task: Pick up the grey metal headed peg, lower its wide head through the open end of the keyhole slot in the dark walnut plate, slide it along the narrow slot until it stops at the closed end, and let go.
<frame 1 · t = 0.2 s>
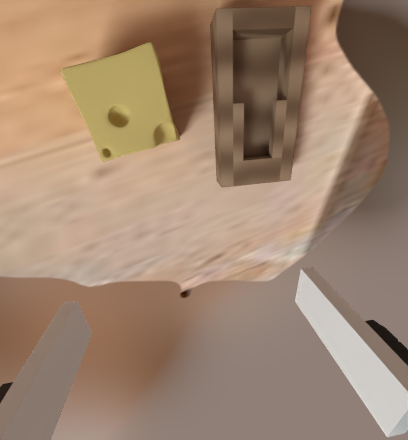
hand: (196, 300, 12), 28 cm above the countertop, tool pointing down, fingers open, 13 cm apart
keyhole plate: (249, 111, 34), on the countertop
cheese: (137, 112, 32), on the countertop
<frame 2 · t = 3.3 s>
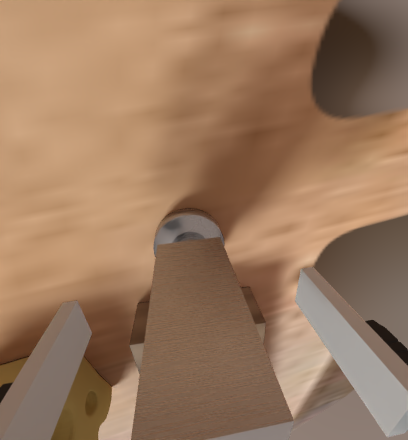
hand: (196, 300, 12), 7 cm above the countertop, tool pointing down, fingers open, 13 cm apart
keyhole plate: (201, 357, 27), on the countertop
peg: (188, 238, 19), on the countertop
cheese: (54, 375, 25), on the countertop
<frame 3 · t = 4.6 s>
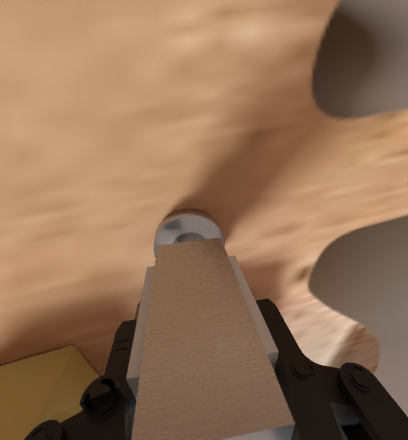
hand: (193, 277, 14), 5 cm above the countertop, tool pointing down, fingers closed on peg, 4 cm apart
peg: (188, 239, 19), on the countertop, touching gripper
cheese: (54, 375, 25), on the countertop
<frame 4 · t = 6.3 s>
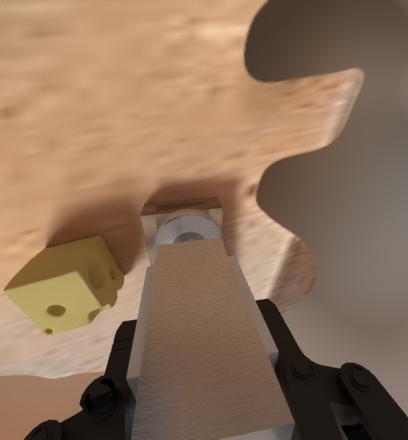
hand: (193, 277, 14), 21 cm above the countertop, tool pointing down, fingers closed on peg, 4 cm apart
keyhole plate: (186, 255, 39), on the countertop
peg: (188, 239, 19), point 16 cm above the countertop, touching gripper
cheese: (86, 261, 37), on the countertop
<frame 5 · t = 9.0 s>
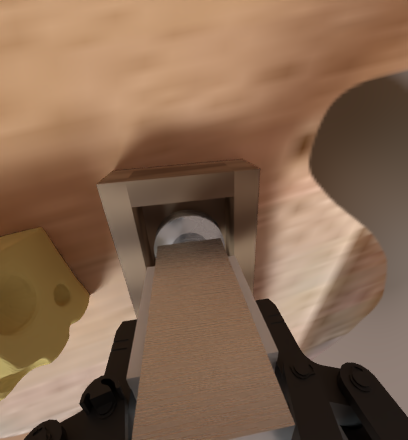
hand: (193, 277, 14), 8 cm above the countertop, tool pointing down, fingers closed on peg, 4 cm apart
keyhole plate: (190, 260, 24), on the countertop
peg: (188, 239, 19), point 3 cm above the countertop, touching gripper
cheese: (23, 273, 22), on the countertop
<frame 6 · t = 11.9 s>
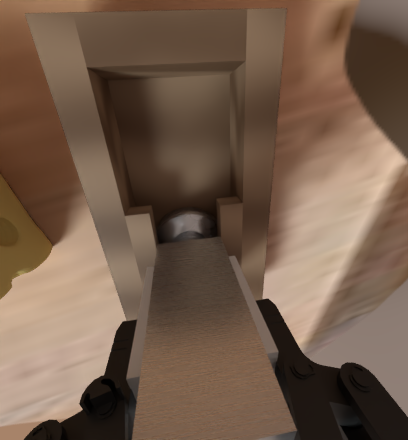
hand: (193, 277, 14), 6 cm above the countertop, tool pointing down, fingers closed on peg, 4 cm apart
keyhole plate: (184, 200, 18), on the countertop
peg: (188, 237, 19), point 1 cm above the countertop, touching gripper
when the fingers open (6 cm above the countertop, at t = 13.1 s): peg stays where it is, resting on keyhole plate.
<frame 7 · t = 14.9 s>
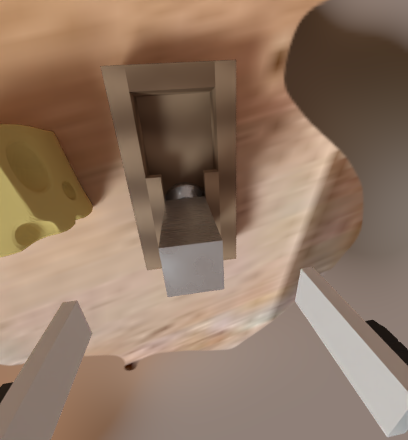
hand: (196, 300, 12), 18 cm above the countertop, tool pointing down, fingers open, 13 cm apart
keyhole plate: (182, 175, 27), on the countertop
peg: (185, 204, 28), point 1 cm above the countertop, touching keyhole plate
cheese: (35, 180, 25), on the countertop
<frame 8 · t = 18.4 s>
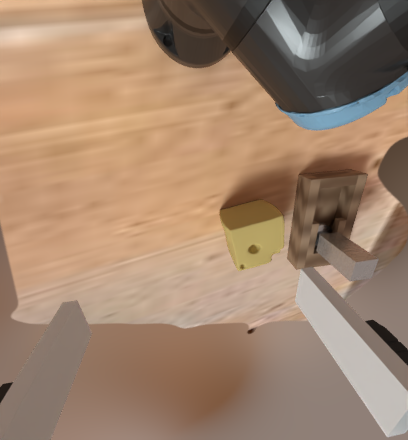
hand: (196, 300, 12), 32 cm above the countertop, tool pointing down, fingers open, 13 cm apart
keyhole plate: (316, 217, 49), on the countertop
peg: (316, 233, 50), point 1 cm above the countertop, touching keyhole plate
cheese: (242, 222, 47), on the countertop
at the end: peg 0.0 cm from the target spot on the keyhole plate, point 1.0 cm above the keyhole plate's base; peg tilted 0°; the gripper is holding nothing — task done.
